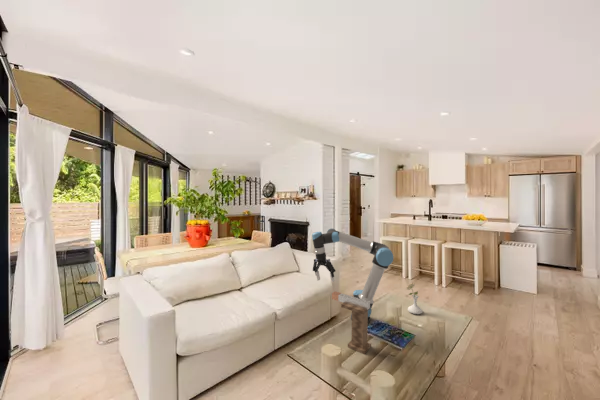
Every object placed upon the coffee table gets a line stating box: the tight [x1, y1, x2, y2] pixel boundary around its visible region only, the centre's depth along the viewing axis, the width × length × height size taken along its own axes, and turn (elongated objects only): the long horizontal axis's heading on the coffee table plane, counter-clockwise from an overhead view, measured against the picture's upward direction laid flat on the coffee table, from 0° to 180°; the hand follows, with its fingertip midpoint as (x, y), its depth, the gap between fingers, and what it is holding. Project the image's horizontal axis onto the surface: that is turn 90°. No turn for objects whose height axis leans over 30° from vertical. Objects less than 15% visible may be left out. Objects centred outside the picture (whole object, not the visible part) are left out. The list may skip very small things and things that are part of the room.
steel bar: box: [331, 290, 370, 310], centre depth 180 cm, size 26×4×4 cm, turn 52°
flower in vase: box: [406, 282, 423, 315], centre depth 222 cm, size 13×11×25 cm
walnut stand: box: [340, 302, 372, 355], centre depth 178 cm, size 17×10×28 cm, turn 52°
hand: (325, 280), depth 199 cm, fingers open, 13 cm apart
